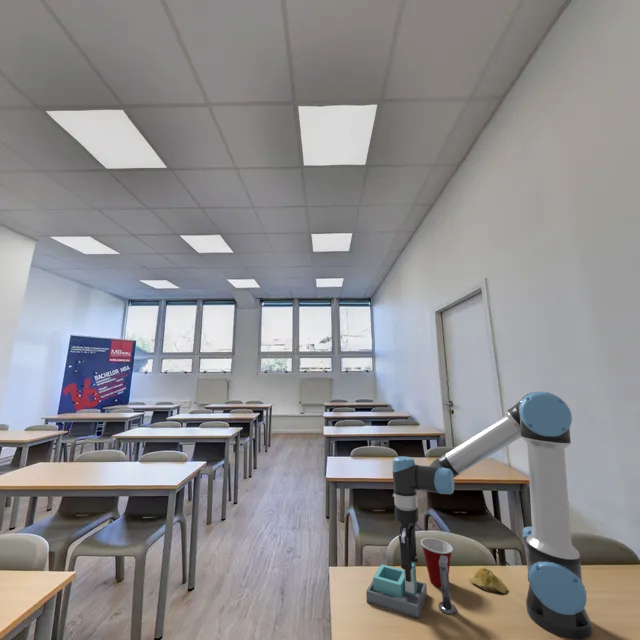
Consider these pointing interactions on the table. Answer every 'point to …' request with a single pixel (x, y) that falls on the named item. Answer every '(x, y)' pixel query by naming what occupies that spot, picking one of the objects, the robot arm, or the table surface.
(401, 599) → the tray
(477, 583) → the fossil
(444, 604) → the t stake
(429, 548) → the plastic cup
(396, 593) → the tabbed collar
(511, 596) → the table surface
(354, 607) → the table surface
